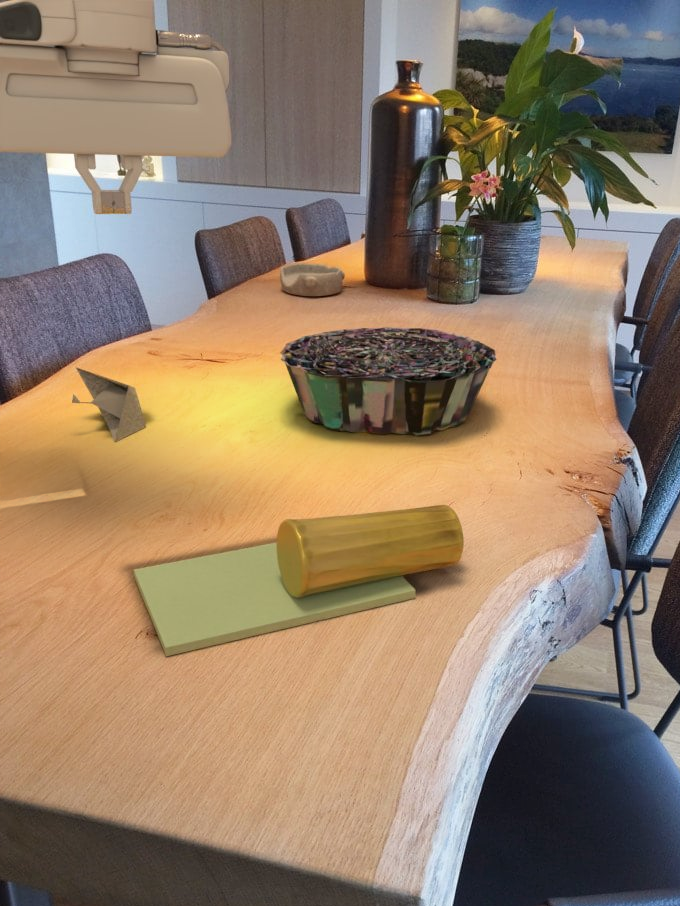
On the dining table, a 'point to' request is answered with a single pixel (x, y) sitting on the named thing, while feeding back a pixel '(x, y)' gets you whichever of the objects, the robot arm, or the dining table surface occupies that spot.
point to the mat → (243, 598)
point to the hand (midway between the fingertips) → (112, 213)
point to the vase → (366, 547)
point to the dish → (311, 279)
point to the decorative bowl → (387, 378)
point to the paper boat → (114, 404)
